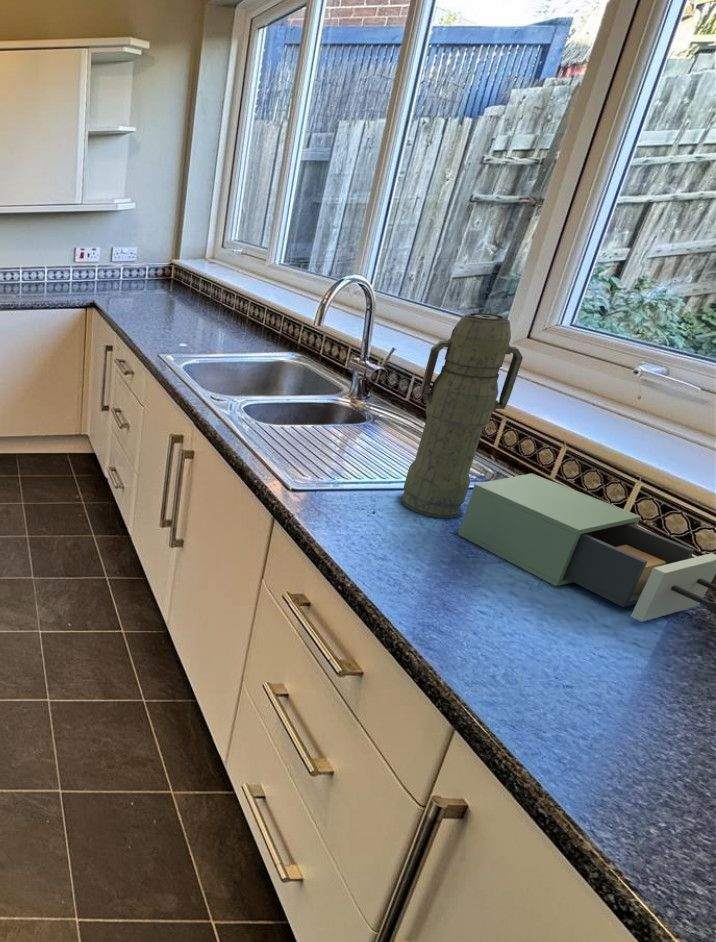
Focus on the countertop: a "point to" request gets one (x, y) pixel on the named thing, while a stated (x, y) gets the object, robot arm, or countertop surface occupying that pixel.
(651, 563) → the block
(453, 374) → the thermos
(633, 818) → the countertop surface
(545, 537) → the sage drawer box
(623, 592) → the pull-out drawer
